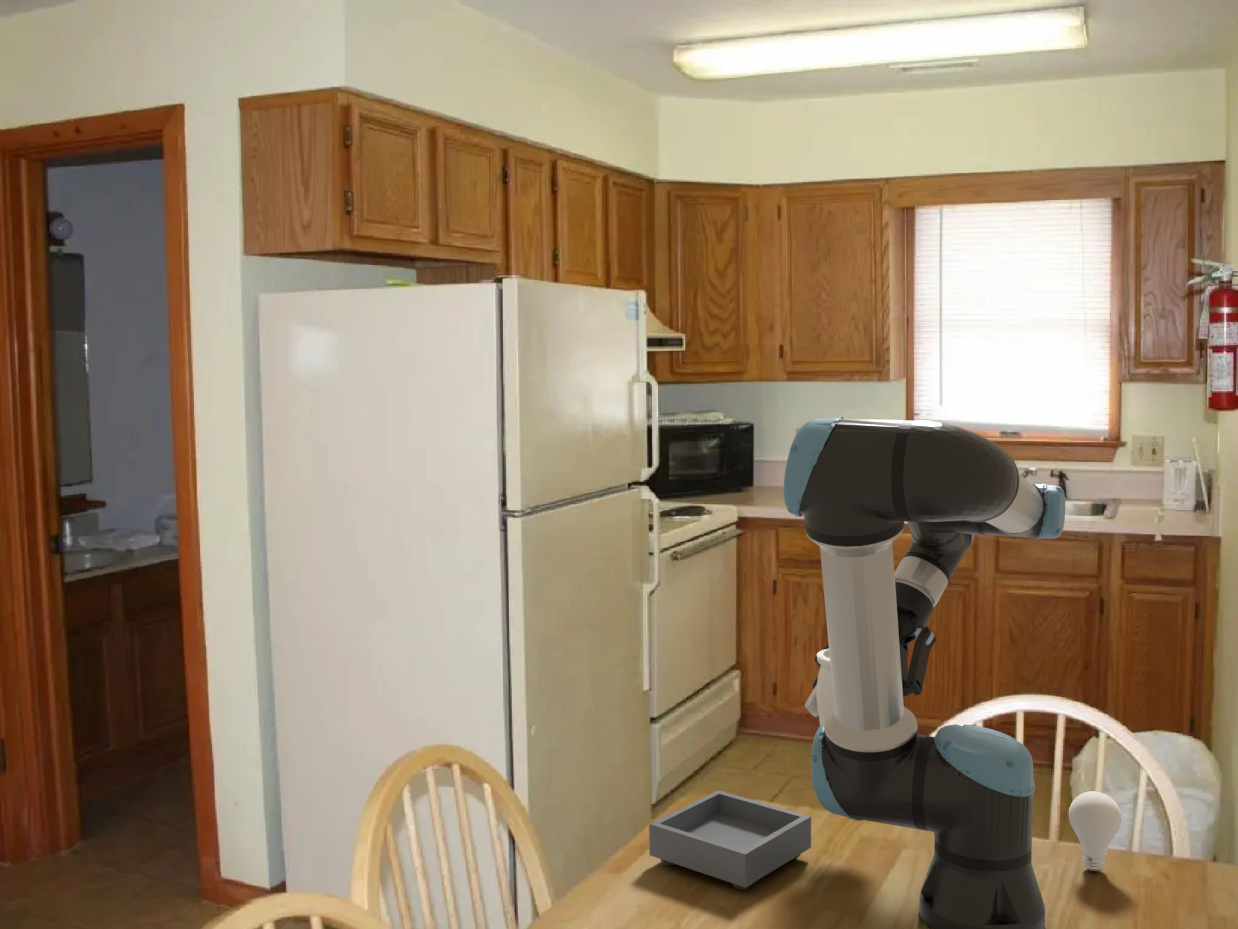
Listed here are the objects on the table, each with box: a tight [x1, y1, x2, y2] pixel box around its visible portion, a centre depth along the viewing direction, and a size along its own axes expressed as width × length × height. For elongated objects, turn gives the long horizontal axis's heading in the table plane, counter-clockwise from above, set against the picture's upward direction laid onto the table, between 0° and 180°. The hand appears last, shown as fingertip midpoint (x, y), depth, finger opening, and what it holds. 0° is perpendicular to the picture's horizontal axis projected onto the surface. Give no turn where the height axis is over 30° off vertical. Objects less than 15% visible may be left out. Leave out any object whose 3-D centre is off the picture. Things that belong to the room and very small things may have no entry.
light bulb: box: [1068, 790, 1122, 873], centre depth 170 cm, size 7×7×11 cm
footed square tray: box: [648, 789, 812, 891], centre depth 174 cm, size 16×16×6 cm
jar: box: [816, 648, 834, 727], centre depth 178 cm, size 11×10×15 cm
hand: (840, 720), depth 177 cm, fingers closed on jar, 10 cm apart
